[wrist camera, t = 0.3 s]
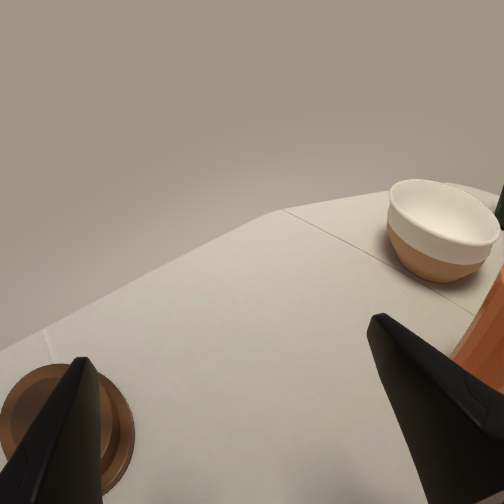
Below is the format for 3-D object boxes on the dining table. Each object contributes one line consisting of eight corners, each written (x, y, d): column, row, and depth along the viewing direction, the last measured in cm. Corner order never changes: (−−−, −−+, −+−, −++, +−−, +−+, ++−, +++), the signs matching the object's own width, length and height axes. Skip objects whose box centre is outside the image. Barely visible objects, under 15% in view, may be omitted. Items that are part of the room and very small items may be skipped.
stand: (140, 510, 16) (128, 505, 14) (1, 490, 14) (-17, 481, 12) (134, 365, 27) (125, 349, 25) (19, 370, 25) (6, 356, 23)
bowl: (443, 223, 45) (455, 180, 41) (498, 287, 33) (522, 239, 28) (360, 227, 44) (368, 178, 40) (409, 307, 32) (431, 249, 27)
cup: (506, 398, 20) (580, 309, 13) (459, 430, 19) (545, 341, 12) (474, 347, 26) (529, 253, 19) (426, 370, 25) (484, 268, 18)
